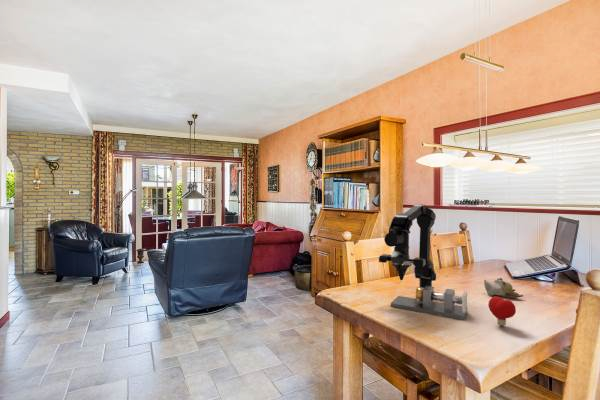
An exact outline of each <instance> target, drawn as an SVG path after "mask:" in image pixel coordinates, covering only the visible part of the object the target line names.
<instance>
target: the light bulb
mask: <svg viewBox="0 0 600 400" xmlns="http://www.w3.org/2000/svg"><path fill="white" fill-rule="evenodd" d="M487 305H488V306H487V307H488V309H489V310H490V312H491V314H492V315H493V316H494V317H495V318H496V319H497V324H498V326H499V327H504V326H506V325H507V319H510V318H512V317H514V316H515V315H516V312H517V310H516V306H515V304H514V302H513V301H512V300H510V299H504V298H502V297H501V296H492V297H491V298H490V299H489V300H488V304H487Z"/></svg>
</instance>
